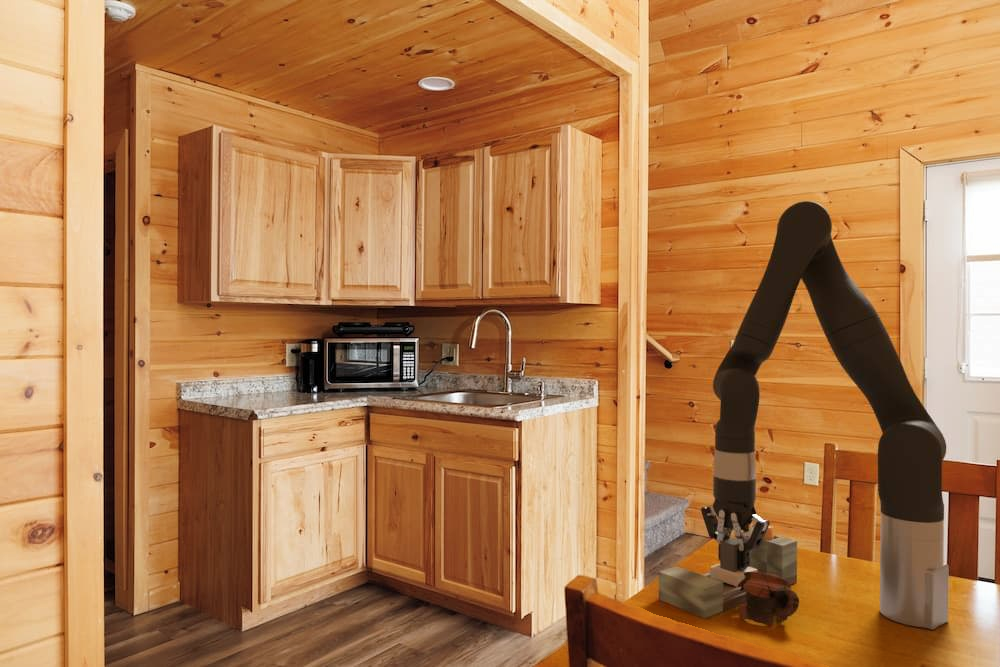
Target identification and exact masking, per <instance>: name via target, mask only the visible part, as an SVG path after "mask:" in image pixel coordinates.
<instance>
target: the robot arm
mask: <svg viewBox="0 0 1000 667" xmlns="http://www.w3.org/2000/svg"><path fill="white" fill-rule="evenodd" d="M832 223H833V222H832V218H831V215H830V214H829V212H828V210H827V209H826V208H825V207H824V206H823V205H821V204H820V203H818V202H815V201H810V200H808V201H807V200H806V201H805V200H803V201H799V202H796V203H794V204H791V205H790V206H789V207H788V208H787V209H785V210H784V212H783V213H782V214H781V215H780V217H779V219H778V222H777V226H776V235H775V239H774V243H773V247H772V251H771V254H770V258H769V260H768V263H767V265H766V269H765V271H764V273H763V276H762V278H761V280H760V283H759V284H758V287H757V289H756V291H755V294H754V296H753V298H752V299H751V302H750V304H749V306H748V307H747V308H748V309H747V310H746V313H745V315H744V317H743V319H742V322H741V324H740V326H739V328H738V331H737V333H736V335H735V338H734V341H733V343H732V345H731V347H730V348H729V350H728V351H727V353H726V354H725V356H724V357H723V360H722V361H721V363H720V364H719V366H718V368H717V370H716V372H715V375H714V378H713V382H712V389H713V393H714V394H715V396H716V397H717V399H719V401H720V406H719V409H720V410H719V419H718V421H716V425H715V428H714V430H715V432H714V438H715V439H714V455H713V478H712V479H713V480H712V481H713V484H712V488H713V489H712V490H713V491H712V493H713V494H712V496H713V498H714V501H713V503H712V505H706V506H702V507H701V508H700V512H701V515H702V518H703V521H704V524H705V528H706V531H707V535H708V536H709V539H714V540H715V541H716V543H717V544H718V550H717V551H718V556H717V557H718V560H719V561H720V541H723V540H726V539H729V538H731V536H732V532H733V534H734V538H737V544H738V549H739V550H737V569H738V570H741V571H742V570H745V569H747V567H749V565H750V550H752V549H755V548H758V547H760V545H761V542H762V540H763V538H764V536H765V534H766V531H767V529H768V527H769V525H770V524H771V523H770V520H769V519H767V518H766V519H763V518H761V517H760V516H759V515H757V510H756V508H755V503H756V497H757V491H756V490H757V488H756V487H757V461H756V454H755V453H756V452H755V450H756V448H755V447H756V445H755V444H756V441H755V440H756V438H755V436H756V433H755V426H756V422H757V417H758V410H759V406H760V385H759V381H758V378H757V377H756V375H757V373H758V372H759V370H760V368H761V366H762V364H763V363H764V362H766V361H767V360H768V359H769V358H770V357H771V355H772V353H773V352H774V349H775V346H776V344H777V342H778V340H779V338H780V336H781V333H782V331H783V330H784V327H785V324H786V321H787V318H788V316H789V314H790V309H791V307H792V304H793V301H794V297H795V295H796V292H797V290H798V287H799V284H800V281H802V283H803V284H804V286H805V288H806V290H807V293H808V295H809V298H810V301H811V304H812V306H813V309H814V312H815V315H816V317H817V320H818V322H819V325H820V327H821V329H822V331H823V333H824V336H825V338H826V339H827V343H828V344H829V346H830V348H831V350H832V352H833V353H834V354H833V355H834V356H835V357H836V359H837V361H838V362H839V365H840V366H841V367H842V368H843V370H844V372H845V373H846V374H847V376H848V377H849V378H850V379H851V380H852V382H853V383H854V384H855V385H856V387H857V388H858V389H859V390H860V391H861V393H862V394H863V395H864V396H865V398H866V400H867V401H868V403H869V406H870V407H871V408H872V411H873V414H874V416H875V418H876V420H877V422H878V424H879V428H880V430H881V433H882V434H881V436H880V438H879V440H878V445H877V492H878V493H877V494H878V497H879V501H880V502H879V504H880V528H879V529H880V532H879V533H880V538H879V539H880V541H879V542H880V544H879V547H880V549H879V551H880V552H879V554H880V555H879V612H880V613H881V614H882V616H884V617H885V618H887V619H889V620H891V621H894V622H896V623H898V624H899V623H900V624H902V625H906V626H911V627H917V628H918V627H919V628H925V629H929V630H935V629H937V628H938V627H940V626H942V625H944V624H945V623H947V622H949V595H950V594H949V592H950V591H949V588H950V587H949V584H950V582H949V578H950V575H949V574H950V572H949V571H950V570H949V564H948V563H946V562H945V561H944V557H945V556H944V554H945V553H944V552H945V550H944V546H945V544H944V542H945V540H944V539H945V538H944V537H945V504H944V498H943V460H944V459H945V457H946V454H947V441H946V439H945V437H944V434H943V433H942V432H941V429H940V428H939V427H938V426H937V424H936V423H935V421H934V420H933V418H932V417H931V416H930V414H929V412H928V411H927V410H926V408H925V406H924V405H923V403H922V402H921V400H920V399H919V397H918V396H917V394H916V392H915V390H914V388H913V387H912V384H911V383H910V381H909V379H908V376H907V374H906V370H905V368H904V366H903V364H902V362H901V359H900V356H899V355H898V352H897V350H896V348H895V346H894V344H893V342H892V339H891V337H890V335H889V333H888V331H887V329H886V327H885V325H884V323H883V321H882V320H881V317H880V316H879V314H878V312H877V310H876V308H875V307H874V305H873V304H872V303H871V301H870V300H869V299H868V297H867V296H866V294H865V293H864V292H863V291H862V290H861V288H860V287H859V286H858V285H857V284H856V283H855V281H853V279H852V278H851V277H850V275H849V274H848V272H847V271H846V269H845V267H844V265H843V262H842V261H841V259H840V256H839V254H838V251H837V249H836V246H835V243H834V240H833V237H832V230H833V224H832ZM751 524H752V528H751ZM751 529H753V532H752V534H751ZM741 531H742V532H741ZM750 535H751V536H750Z"/></svg>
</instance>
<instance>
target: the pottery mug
mask: <svg viewBox="0 0 1000 667" xmlns="http://www.w3.org/2000/svg"><path fill="white" fill-rule="evenodd" d="M744 575H745V579H743V580H742V581H741V582H740V583H739V584H738V587H741V588H740V590H741V591H742V590H744V591H745V592H747V593H746V602H745V604H744V603H743V604H740V605H738V607H737V608H738V609H737V611H738V618H739V619H743V620H748V621H753V622H755V623H757V624H762V625H764V626H769V627H773V624H774V623H773V622H774V620H775V616H776V618H777V619H778V620H779V621H780V622H784V621H787V620H788V618H789V617H791V616H793V615H794V613H796V612H797V610H798V608H799V605H800V598H799V596H798V594H797V593H796V592H795V591H794V590H792V589H790V583H789V582H788V581H787V580H785V579H783V578H781V577H777V576H774V575H771V574H766V573H760V572H745V573H744Z"/></svg>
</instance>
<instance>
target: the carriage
mask: <svg viewBox="0 0 1000 667" xmlns="http://www.w3.org/2000/svg"><path fill="white" fill-rule="evenodd" d="M737 550H739V549H738V544H737V538H736V537H735V536H734V537H730V538H729V539H726V540H723V541H720V560H719V562H720V563H718V564H714V565H712V566H710V567H709V572H710V577H711V578H714V579H717V580H719V581H722V582H725V583H728V584H731V585H734V586H736V587H738V584H739V583H740V582H741V581H742V580H743V579H745V575H744V573H745V572H757V569H755V568H752V567H747V569H745V570H742V571H741V570H738V569H737Z"/></svg>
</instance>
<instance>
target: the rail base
mask: <svg viewBox="0 0 1000 667" xmlns="http://www.w3.org/2000/svg"><path fill="white" fill-rule="evenodd" d="M753 529H754V528H751V534H752V532H753ZM742 531H743V530H741V532H742ZM750 536H751V535H750ZM749 567H752V568H755V569H757V572H760V573H766V574H771V575H774V576H777V577H781V578H783V579H785V580H787V581H788V582H789V583H790V585H794V584H796V583H797V582H798V540H795V539H792V538H789V537H783V536H781V535H777V534H774V539H773V540H770V541H768V540H765V539H763V540H762V542H761V545H760V547H758V548H755V549H752V550H750V565H749ZM740 588H741V587H736V586H734V585H731V584H728V583H725V582H722V581H719V580H717V579H714V578H711V577H710V571H709V572H706V573H704V574H701V573H698V572H696V571H693V570H690V569H687V568H683V567H681V566H678V565H675V566H672V567H669V568H666V569H665V568H664V569H662V570H659V571H658V600H659V601H662V602H664V603H667V604H669V605H671V606H675V607H677V608H679V609H681V610H684V611H686V612H688V613H691V614H693V615H696V616H698V617H701V618H703V619H706V618H709V617H712V616H714V615H717V614H720V613H722V612H725V611H728V610H730V609H733V608H735V607H737V606H739V605H740V604H741V605H743V604H744V603H745V604H746V603H747V602H746V593H747V592H745V591H744V590H742V591H741V590H740Z"/></svg>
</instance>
